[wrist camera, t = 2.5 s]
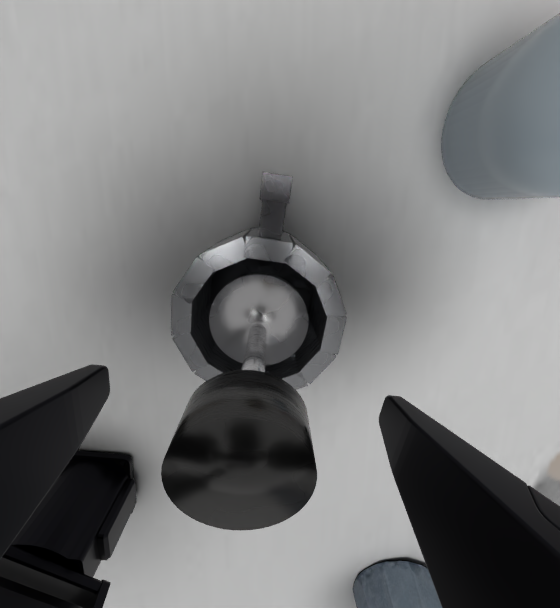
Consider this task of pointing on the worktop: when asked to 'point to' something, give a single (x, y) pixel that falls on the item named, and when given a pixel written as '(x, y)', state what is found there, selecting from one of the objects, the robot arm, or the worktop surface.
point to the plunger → (246, 416)
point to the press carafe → (260, 259)
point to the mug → (509, 122)
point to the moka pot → (395, 586)
